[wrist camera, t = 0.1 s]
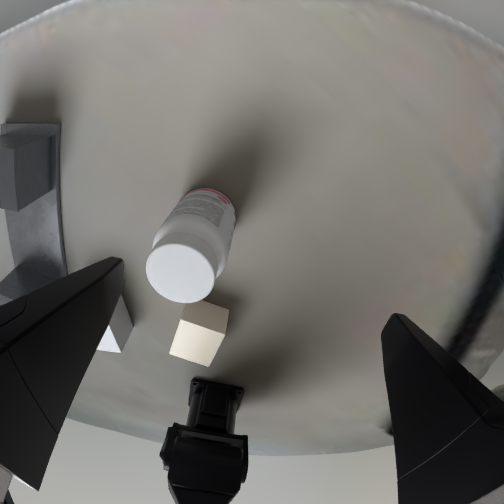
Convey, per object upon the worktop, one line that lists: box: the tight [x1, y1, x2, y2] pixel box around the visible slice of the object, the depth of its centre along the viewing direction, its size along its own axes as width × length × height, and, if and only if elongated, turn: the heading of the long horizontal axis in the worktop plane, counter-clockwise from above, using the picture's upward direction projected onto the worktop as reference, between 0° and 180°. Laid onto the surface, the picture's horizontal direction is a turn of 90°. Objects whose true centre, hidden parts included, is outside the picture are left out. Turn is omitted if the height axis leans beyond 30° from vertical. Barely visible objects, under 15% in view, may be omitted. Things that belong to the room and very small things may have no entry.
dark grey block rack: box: [0, 123, 68, 306], centre depth 22 cm, size 22×8×6 cm, turn 168°
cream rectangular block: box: [169, 300, 229, 367], centre depth 28 cm, size 5×4×4 cm
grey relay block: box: [96, 294, 133, 353], centre depth 27 cm, size 6×4×4 cm, turn 3°
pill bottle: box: [146, 188, 236, 303], centre depth 20 cm, size 5×5×8 cm
